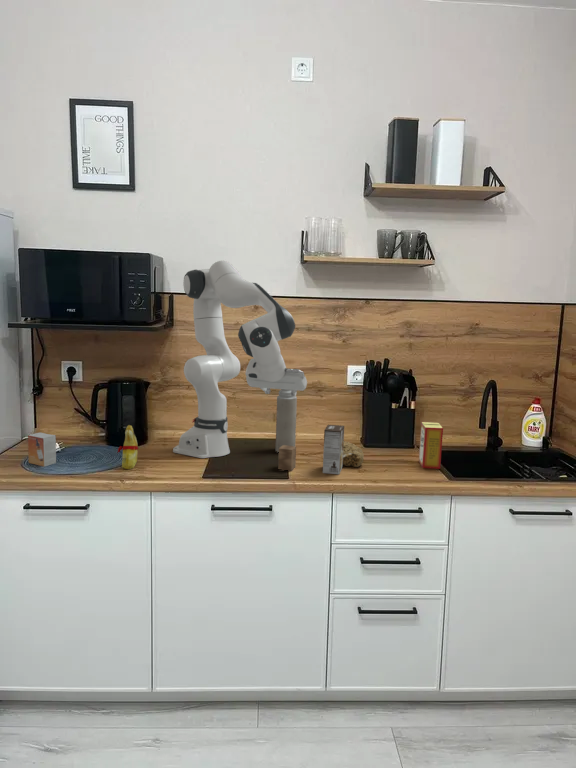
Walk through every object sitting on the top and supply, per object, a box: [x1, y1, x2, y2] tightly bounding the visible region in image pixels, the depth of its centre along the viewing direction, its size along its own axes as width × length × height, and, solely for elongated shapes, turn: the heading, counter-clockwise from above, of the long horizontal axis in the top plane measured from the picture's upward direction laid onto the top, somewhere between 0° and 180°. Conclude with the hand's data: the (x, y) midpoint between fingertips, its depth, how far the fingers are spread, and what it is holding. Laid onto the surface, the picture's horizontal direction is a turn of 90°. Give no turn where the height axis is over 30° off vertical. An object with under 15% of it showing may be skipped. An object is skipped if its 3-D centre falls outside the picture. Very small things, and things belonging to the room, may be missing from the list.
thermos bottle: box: [275, 389, 298, 453], centre depth 232 cm, size 8×8×28 cm
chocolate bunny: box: [116, 424, 139, 470], centre depth 208 cm, size 7×11×15 cm, turn 4°
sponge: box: [343, 441, 365, 468], centre depth 224 cm, size 13×8×20 cm
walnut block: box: [277, 445, 297, 472], centre depth 211 cm, size 5×5×8 cm
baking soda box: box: [418, 421, 444, 470], centre depth 221 cm, size 10×6×16 cm
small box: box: [27, 432, 57, 467], centre depth 208 cm, size 8×6×10 cm
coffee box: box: [322, 424, 345, 475], centre depth 210 cm, size 9×6×16 cm
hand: (281, 393), depth 198 cm, fingers open, 8 cm apart
